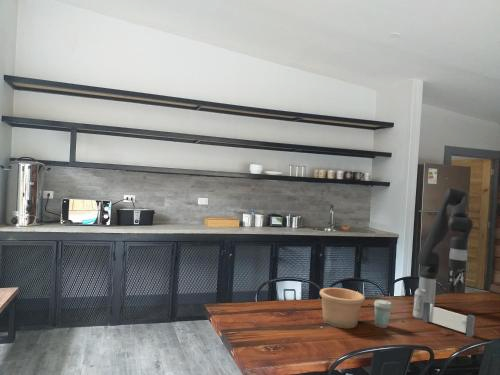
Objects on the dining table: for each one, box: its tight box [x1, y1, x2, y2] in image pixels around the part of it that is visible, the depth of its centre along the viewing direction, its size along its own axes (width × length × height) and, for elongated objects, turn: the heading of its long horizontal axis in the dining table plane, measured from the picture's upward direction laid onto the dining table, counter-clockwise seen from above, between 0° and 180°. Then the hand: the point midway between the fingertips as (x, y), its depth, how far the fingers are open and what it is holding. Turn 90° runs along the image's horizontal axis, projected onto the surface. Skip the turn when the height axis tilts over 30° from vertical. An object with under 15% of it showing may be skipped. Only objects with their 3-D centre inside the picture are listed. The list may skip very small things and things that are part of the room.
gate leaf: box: [428, 303, 468, 334], centre depth 192 cm, size 18×2×9 cm, turn 41°
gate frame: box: [421, 302, 476, 338], centre depth 192 cm, size 24×2×10 cm, turn 41°
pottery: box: [319, 287, 366, 329], centre depth 189 cm, size 22×22×14 cm
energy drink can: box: [412, 288, 427, 320], centre depth 207 cm, size 6×6×15 cm
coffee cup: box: [373, 299, 393, 329], centre depth 189 cm, size 8×8×12 cm
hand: (455, 291), depth 184 cm, fingers open, 8 cm apart
